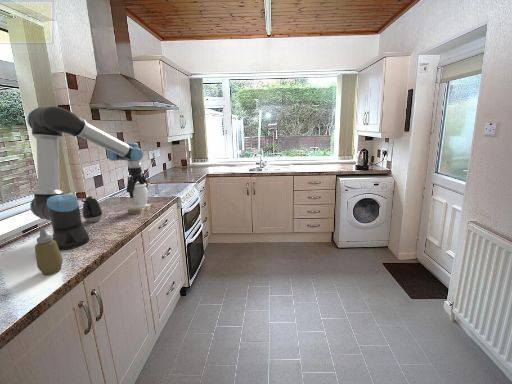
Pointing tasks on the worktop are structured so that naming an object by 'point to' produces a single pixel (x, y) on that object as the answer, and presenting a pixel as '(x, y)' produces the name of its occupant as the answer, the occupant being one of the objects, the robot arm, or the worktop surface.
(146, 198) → the white cup
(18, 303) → the worktop surface
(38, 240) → the squeeze bottle
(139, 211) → the birch trivet
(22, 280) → the worktop surface
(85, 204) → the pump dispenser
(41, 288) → the worktop surface
